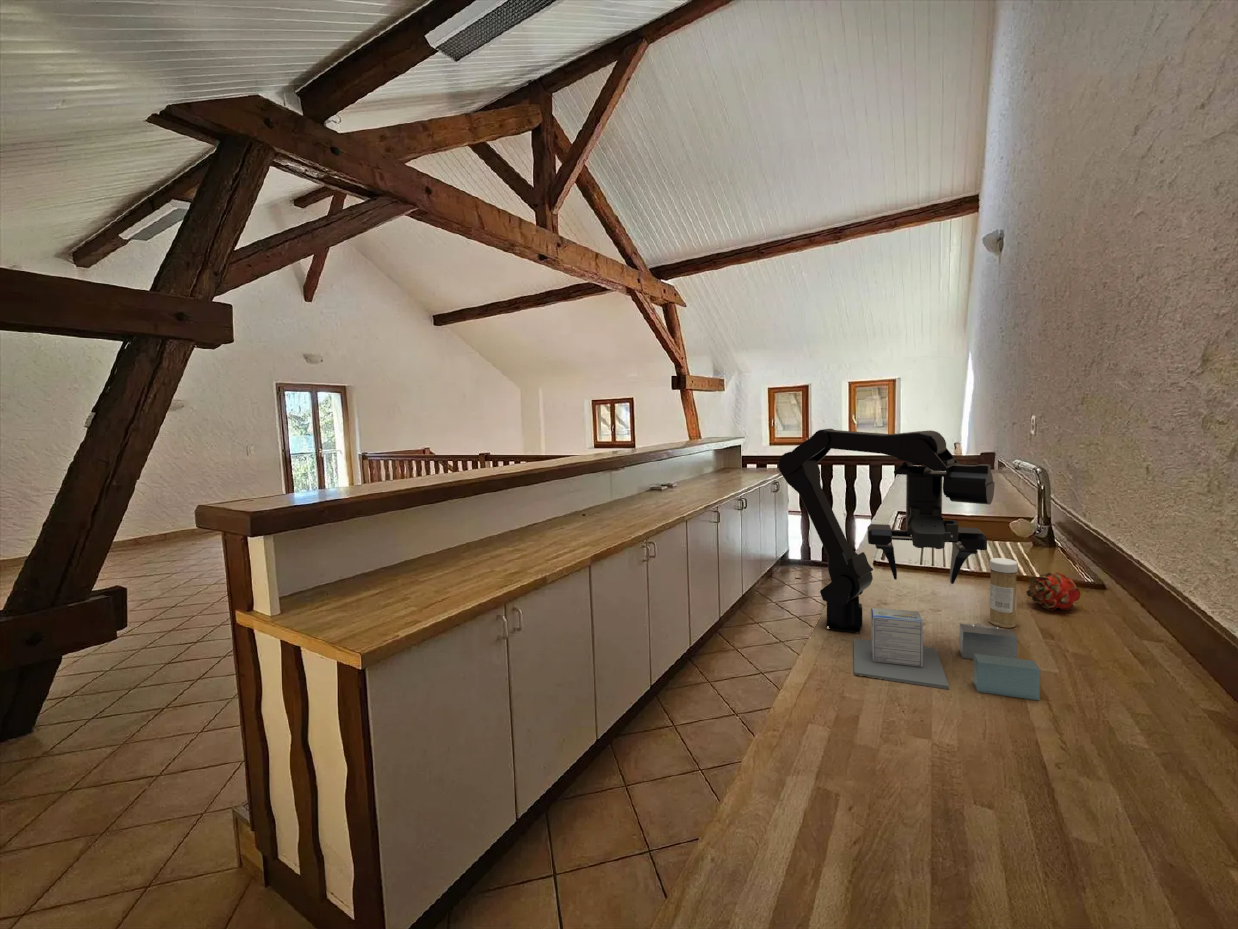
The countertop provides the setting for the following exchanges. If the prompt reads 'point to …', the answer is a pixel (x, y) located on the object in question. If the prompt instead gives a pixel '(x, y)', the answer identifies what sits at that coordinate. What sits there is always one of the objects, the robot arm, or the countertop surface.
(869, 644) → the rubber mat
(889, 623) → the medicine box
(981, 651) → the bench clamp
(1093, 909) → the countertop surface
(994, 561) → the sprinkles bottle
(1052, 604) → the dragon fruit
